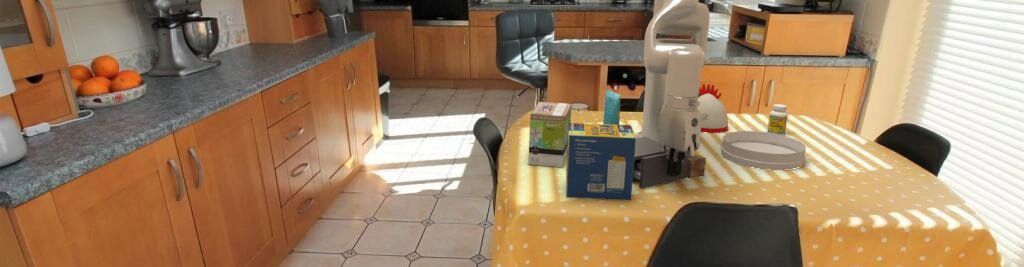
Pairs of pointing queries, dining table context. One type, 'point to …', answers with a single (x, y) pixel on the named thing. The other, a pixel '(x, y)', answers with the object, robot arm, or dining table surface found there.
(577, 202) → the dining table surface
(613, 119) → the tube
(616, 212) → the dining table surface
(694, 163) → the walnut block
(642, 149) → the housing
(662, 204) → the dining table surface
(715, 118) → the hen dome cover
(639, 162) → the disc
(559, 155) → the tea box
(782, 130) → the supplement bottle
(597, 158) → the protein box
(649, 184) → the drawer
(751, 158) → the dish
